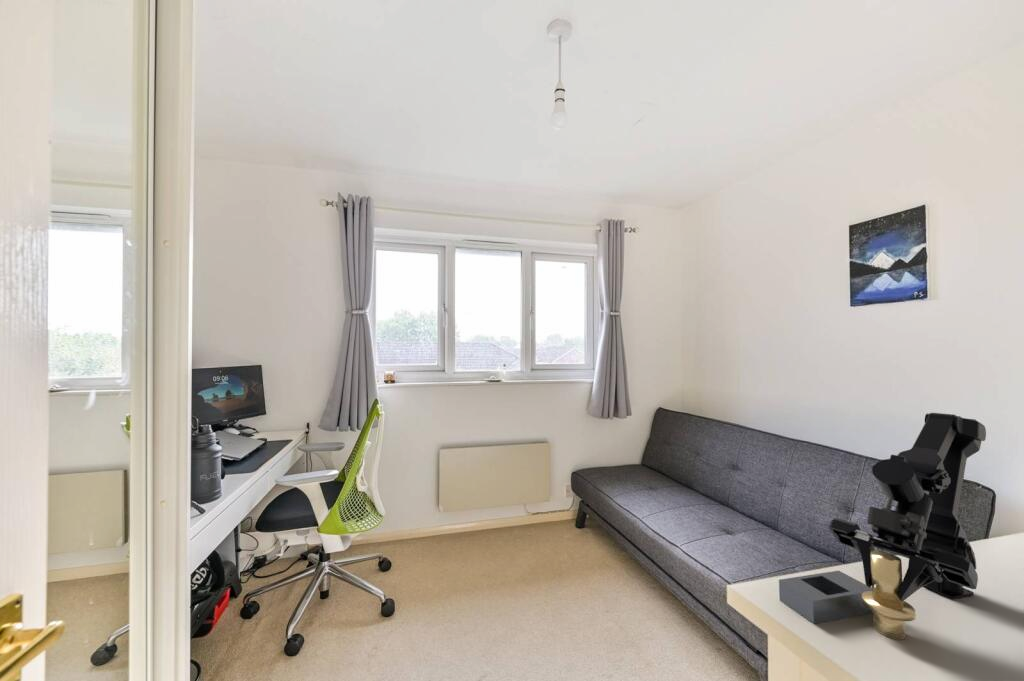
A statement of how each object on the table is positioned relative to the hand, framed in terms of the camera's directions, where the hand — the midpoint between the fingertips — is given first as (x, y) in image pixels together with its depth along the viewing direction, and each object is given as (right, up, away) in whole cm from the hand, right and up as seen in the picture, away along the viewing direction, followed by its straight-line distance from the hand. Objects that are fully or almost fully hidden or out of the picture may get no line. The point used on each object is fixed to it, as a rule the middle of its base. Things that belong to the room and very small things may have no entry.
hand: (883, 592), depth 68 cm
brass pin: (+1, -7, 0) cm, 7 cm away
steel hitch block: (-4, -7, +7) cm, 11 cm away
